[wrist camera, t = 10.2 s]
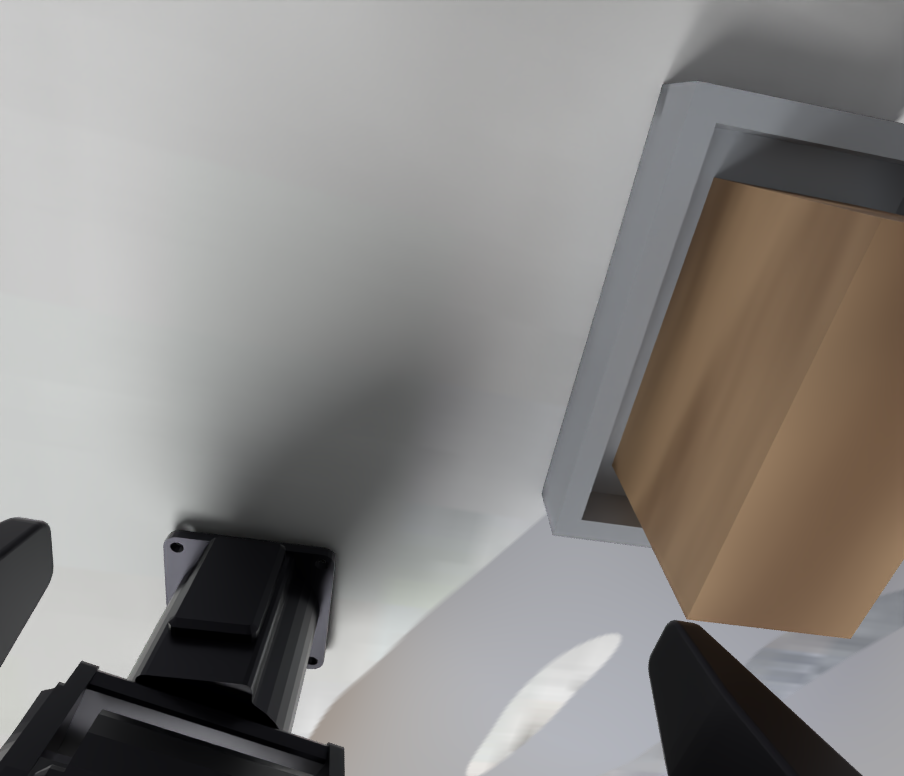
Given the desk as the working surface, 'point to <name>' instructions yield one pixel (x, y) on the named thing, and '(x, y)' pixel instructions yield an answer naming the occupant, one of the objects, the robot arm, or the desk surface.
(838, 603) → the walnut block
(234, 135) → the desk surface
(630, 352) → the slot tray
